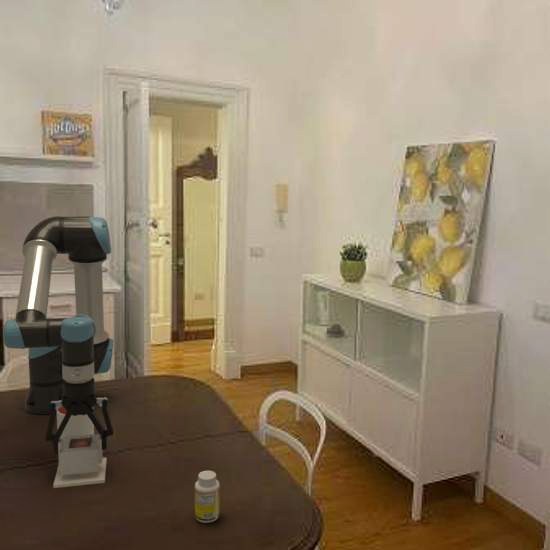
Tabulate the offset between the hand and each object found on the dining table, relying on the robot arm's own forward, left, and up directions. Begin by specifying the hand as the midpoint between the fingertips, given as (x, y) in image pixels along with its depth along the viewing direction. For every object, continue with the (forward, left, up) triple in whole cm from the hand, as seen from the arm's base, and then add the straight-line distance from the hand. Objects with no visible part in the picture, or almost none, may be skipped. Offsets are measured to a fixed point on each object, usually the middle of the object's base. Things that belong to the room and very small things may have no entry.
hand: (81, 462), depth 141 cm
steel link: (0, 0, -1) cm, 1 cm away
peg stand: (0, 0, -3) cm, 3 cm away
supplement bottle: (+26, +29, -3) cm, 39 cm away
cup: (-20, -3, -3) cm, 20 cm away
